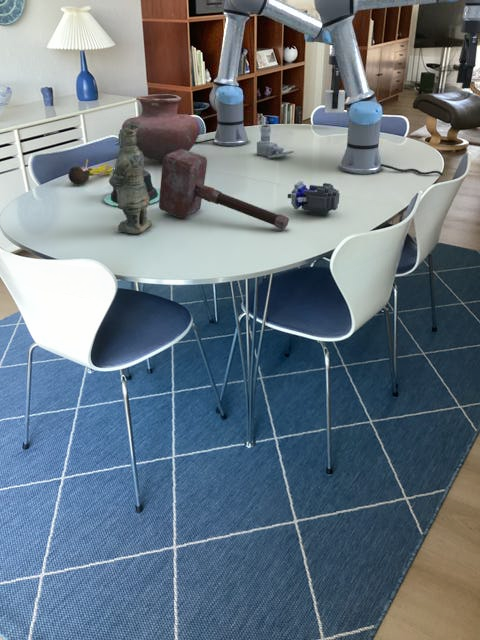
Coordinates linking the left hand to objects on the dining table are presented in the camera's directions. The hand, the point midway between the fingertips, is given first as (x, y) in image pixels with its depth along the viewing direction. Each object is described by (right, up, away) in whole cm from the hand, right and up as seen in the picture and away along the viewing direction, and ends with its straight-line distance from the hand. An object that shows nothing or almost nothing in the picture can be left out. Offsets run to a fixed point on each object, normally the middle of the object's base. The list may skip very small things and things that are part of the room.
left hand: (334, 107), depth 270 cm
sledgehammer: (-51, -74, -104) cm, 137 cm away
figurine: (-99, -50, -62) cm, 127 cm away
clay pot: (-77, -38, -42) cm, 96 cm away
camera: (-32, -36, -40) cm, 63 cm away
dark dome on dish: (-82, -62, -83) cm, 132 cm away
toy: (-24, -71, -99) cm, 124 cm away
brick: (0, -2, +1) cm, 2 cm away
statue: (-77, -77, -108) cm, 154 cm away
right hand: (+36, -18, -67) cm, 78 cm away
